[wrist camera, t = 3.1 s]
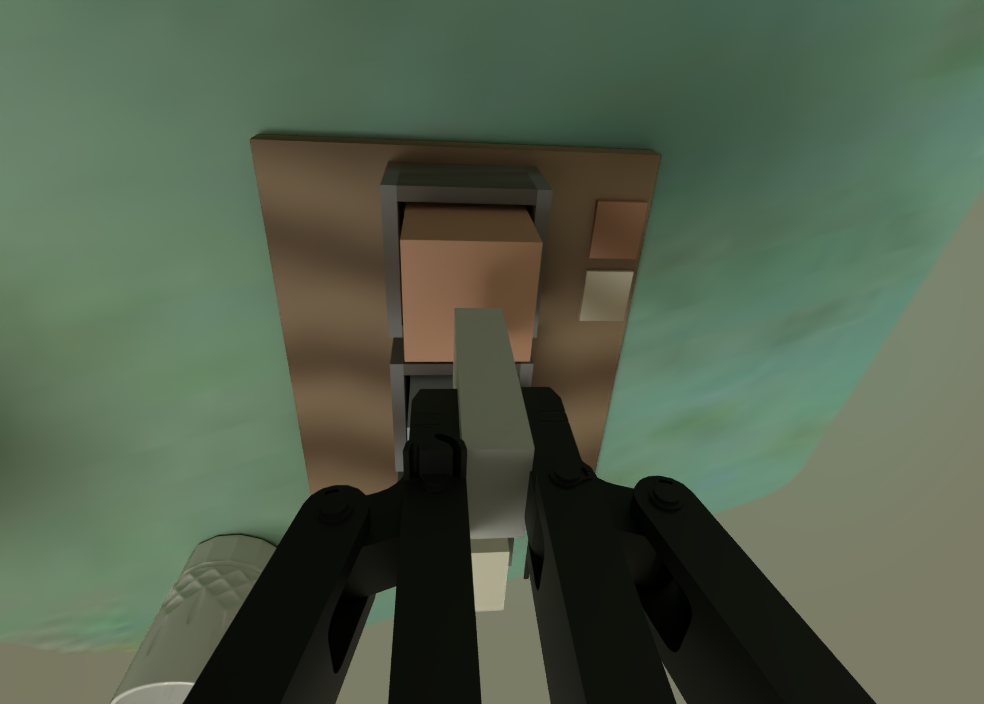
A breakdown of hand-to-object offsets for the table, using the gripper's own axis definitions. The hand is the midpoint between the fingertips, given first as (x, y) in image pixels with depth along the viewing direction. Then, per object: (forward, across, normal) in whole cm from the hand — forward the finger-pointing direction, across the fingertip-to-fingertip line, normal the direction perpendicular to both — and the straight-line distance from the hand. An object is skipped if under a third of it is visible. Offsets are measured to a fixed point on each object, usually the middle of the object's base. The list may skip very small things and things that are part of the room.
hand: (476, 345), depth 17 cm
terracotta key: (+8, 0, 0) cm, 8 cm away
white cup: (+12, -15, -25) cm, 31 cm away
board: (+11, 0, -8) cm, 14 cm away
